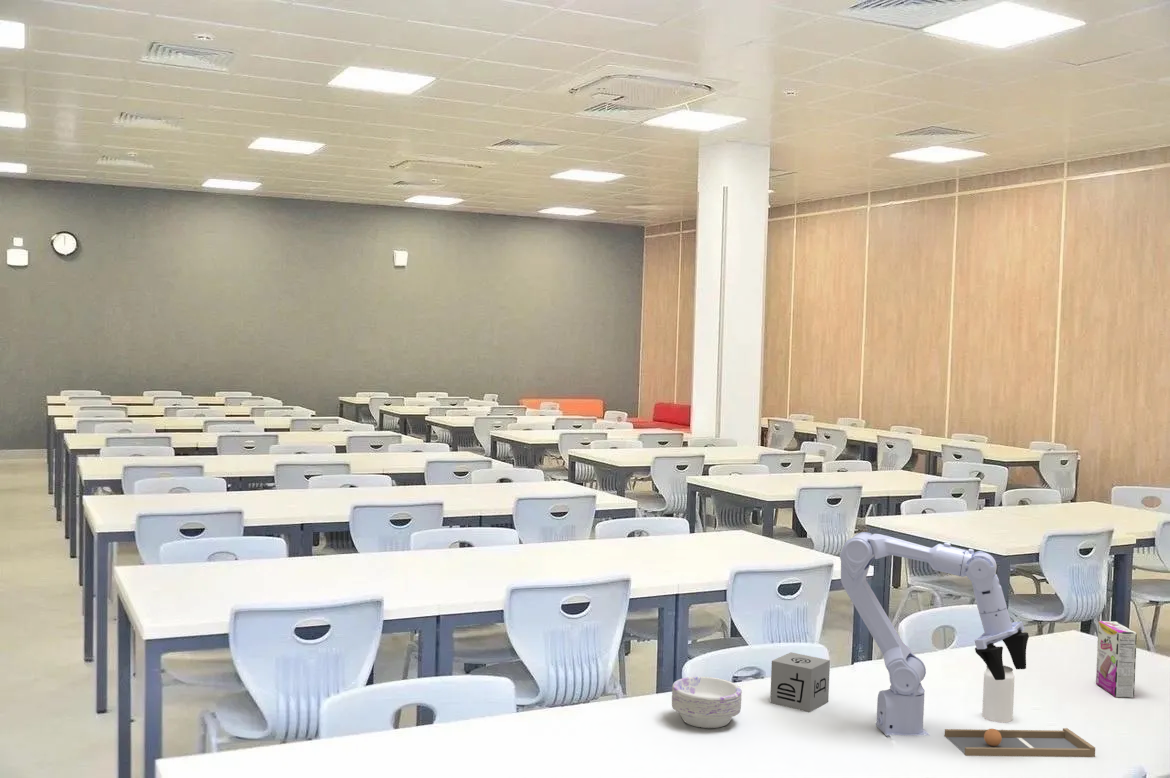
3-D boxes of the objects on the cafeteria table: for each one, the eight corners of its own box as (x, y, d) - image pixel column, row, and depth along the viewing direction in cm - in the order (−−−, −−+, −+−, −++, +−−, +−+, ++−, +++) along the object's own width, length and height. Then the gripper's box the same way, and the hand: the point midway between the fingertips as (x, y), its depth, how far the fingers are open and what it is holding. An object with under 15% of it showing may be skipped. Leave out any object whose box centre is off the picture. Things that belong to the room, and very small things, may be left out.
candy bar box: (1094, 684, 281) (1097, 620, 280) (1114, 685, 281) (1117, 621, 280) (1114, 698, 270) (1117, 631, 269) (1135, 698, 270) (1138, 632, 269)
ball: (987, 748, 229) (988, 731, 229) (980, 742, 233) (981, 726, 233) (1004, 748, 230) (1005, 732, 230) (997, 742, 233) (997, 726, 233)
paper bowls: (738, 736, 234) (739, 699, 234) (666, 729, 237) (668, 692, 237) (742, 714, 249) (743, 679, 249) (675, 707, 252) (676, 673, 252)
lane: (966, 758, 225) (966, 746, 225) (944, 738, 237) (944, 726, 237) (1094, 759, 227) (1095, 747, 227) (1066, 739, 238) (1067, 728, 238)
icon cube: (809, 712, 251) (811, 669, 251) (770, 703, 257) (771, 660, 257) (828, 702, 259) (829, 660, 259) (789, 693, 265) (791, 652, 265)
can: (993, 726, 246) (996, 672, 245) (976, 716, 252) (978, 664, 252) (1018, 724, 248) (1021, 671, 247) (1000, 714, 254) (1002, 663, 253)
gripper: (988, 618, 225) (1007, 684, 224) (1029, 600, 233) (1047, 663, 232) (960, 619, 231) (977, 684, 229) (1000, 602, 239) (1018, 664, 238)
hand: (1010, 674), depth 231 cm, fingers open, 7 cm apart
